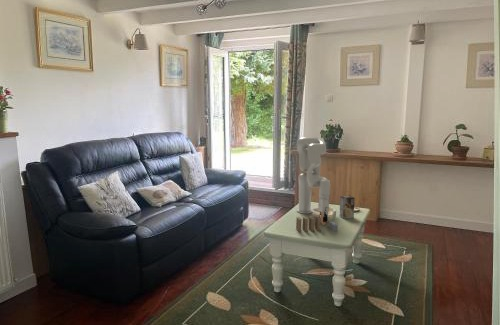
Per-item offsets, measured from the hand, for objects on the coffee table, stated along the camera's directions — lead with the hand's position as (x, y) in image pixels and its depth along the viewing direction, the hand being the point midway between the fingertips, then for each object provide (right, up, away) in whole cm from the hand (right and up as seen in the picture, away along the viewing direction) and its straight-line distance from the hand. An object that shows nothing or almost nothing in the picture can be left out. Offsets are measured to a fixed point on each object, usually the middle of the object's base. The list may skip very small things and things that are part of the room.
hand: (323, 220), depth 260 cm
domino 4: (-7, -5, -12) cm, 15 cm away
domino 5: (0, -3, 0) cm, 3 cm away
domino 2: (-16, -5, -14) cm, 21 cm away
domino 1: (-20, -5, -14) cm, 25 cm away
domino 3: (-11, -5, -13) cm, 18 cm away
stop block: (+5, -5, -11) cm, 13 cm away
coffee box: (+21, 0, +16) cm, 26 cm away
